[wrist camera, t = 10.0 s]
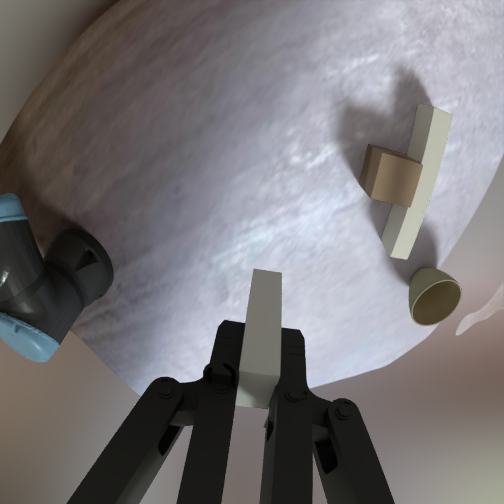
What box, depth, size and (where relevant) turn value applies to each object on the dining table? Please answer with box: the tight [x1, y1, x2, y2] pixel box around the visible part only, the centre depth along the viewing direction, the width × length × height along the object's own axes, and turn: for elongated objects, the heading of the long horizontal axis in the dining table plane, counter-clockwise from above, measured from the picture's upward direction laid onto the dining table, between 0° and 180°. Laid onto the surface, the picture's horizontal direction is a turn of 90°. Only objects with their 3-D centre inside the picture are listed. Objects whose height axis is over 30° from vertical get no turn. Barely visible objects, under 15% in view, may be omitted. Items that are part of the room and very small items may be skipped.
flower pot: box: [409, 268, 462, 326], centre depth 42 cm, size 10×10×7 cm
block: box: [359, 144, 423, 208], centre depth 34 cm, size 6×6×6 cm
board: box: [381, 104, 452, 260], centre depth 35 cm, size 3×22×5 cm, turn 173°
